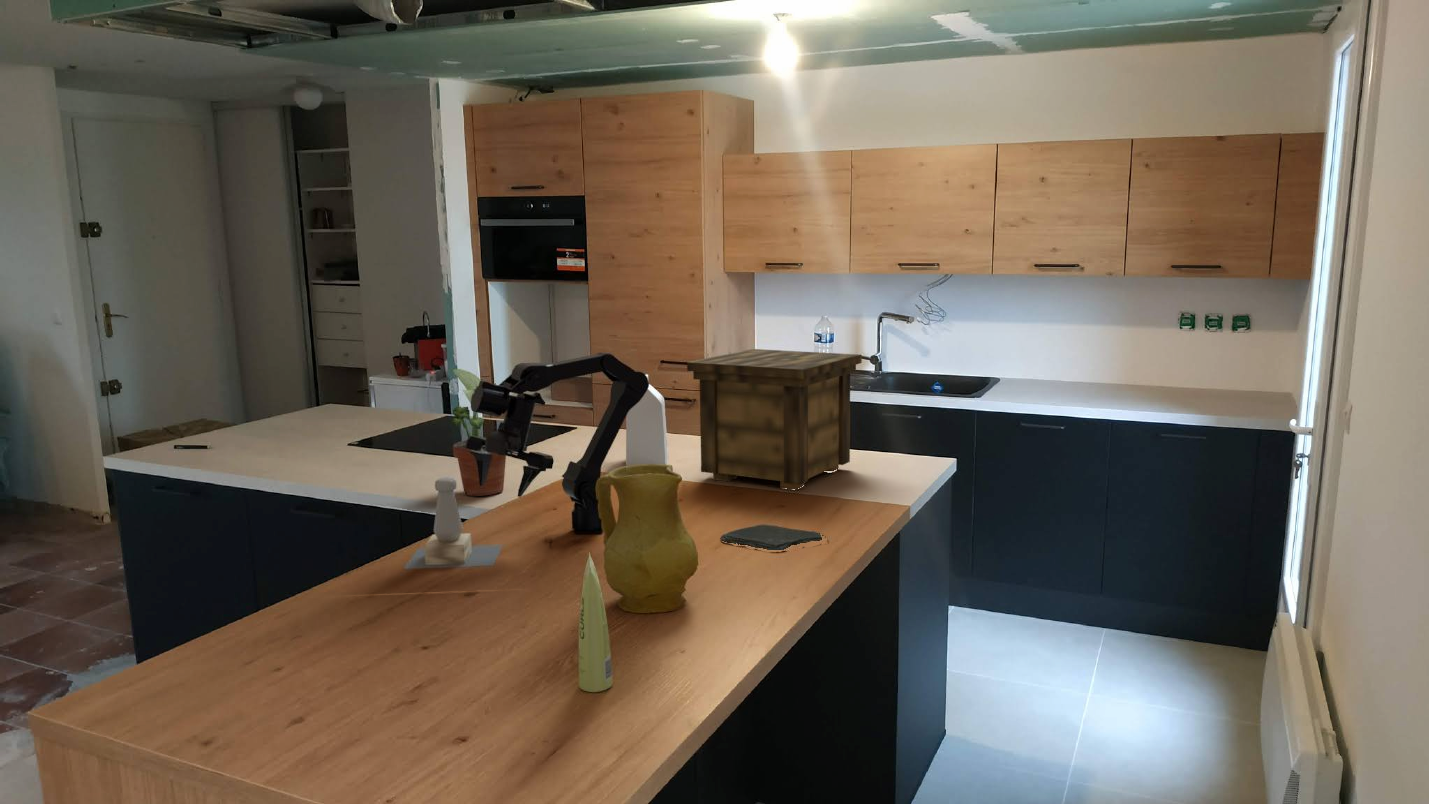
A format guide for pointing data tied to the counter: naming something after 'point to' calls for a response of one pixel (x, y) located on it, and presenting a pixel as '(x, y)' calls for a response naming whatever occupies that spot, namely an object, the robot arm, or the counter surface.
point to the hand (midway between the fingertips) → (500, 491)
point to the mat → (477, 558)
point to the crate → (774, 414)
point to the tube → (593, 636)
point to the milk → (647, 431)
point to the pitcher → (645, 538)
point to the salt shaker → (447, 511)
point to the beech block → (448, 550)
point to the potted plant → (466, 459)
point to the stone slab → (770, 537)
